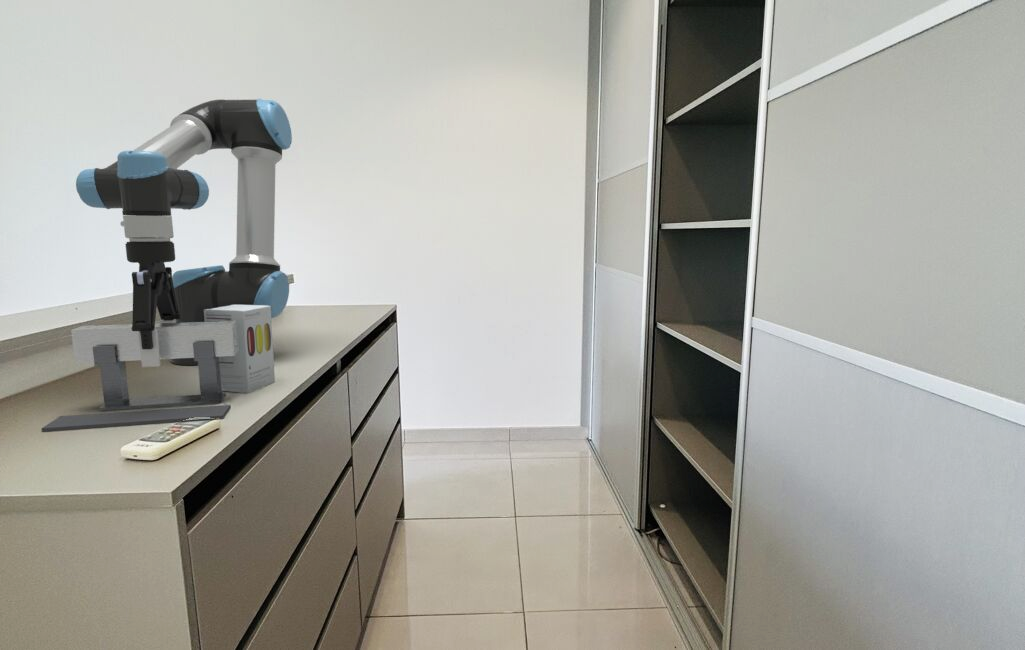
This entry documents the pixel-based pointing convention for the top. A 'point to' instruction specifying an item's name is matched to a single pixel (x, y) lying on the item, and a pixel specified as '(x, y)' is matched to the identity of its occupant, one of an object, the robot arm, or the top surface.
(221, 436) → the top surface
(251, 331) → the supplement box
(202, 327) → the rail
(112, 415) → the mat
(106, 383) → the standards
